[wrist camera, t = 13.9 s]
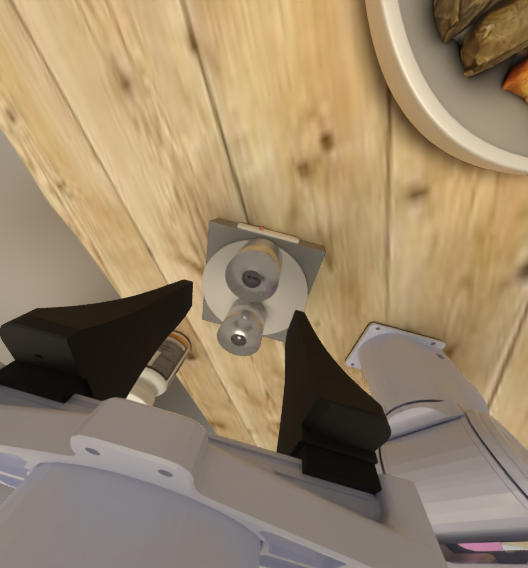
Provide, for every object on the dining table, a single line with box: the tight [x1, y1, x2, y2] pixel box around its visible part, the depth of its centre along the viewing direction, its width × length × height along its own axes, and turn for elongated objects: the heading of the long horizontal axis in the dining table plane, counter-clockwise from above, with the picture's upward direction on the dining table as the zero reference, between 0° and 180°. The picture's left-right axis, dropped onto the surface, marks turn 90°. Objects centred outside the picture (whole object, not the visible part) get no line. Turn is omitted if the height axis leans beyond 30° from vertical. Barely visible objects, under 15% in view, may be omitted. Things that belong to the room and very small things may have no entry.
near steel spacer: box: [225, 238, 282, 302], centre depth 17 cm, size 4×4×4 cm
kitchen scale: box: [202, 218, 326, 342], centre depth 22 cm, size 12×14×3 cm
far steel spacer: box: [217, 298, 267, 356], centre depth 20 cm, size 4×4×4 cm
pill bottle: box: [126, 331, 190, 406], centre depth 26 cm, size 6×6×10 cm
